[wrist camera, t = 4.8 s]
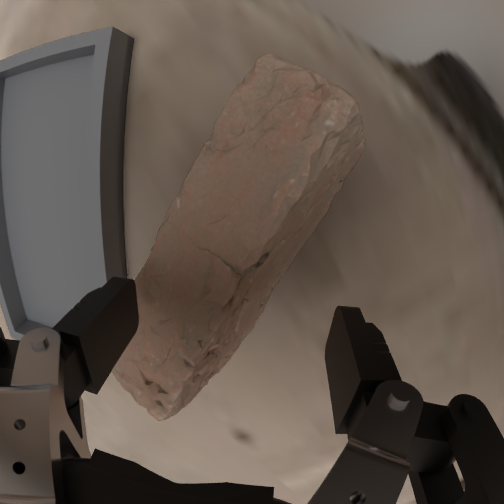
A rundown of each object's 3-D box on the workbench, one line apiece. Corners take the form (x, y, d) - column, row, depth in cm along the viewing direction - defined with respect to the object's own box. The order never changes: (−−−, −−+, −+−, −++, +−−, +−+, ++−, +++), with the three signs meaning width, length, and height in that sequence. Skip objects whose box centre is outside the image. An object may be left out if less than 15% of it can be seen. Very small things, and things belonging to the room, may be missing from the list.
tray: (134, 38, 15) (112, 26, 12) (136, 351, 24) (123, 375, 21) (6, 70, 15) (-18, 68, 13) (27, 321, 24) (11, 337, 22)
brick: (258, 40, 9) (381, 95, 8) (305, 111, 17) (374, 151, 16) (94, 367, 14) (159, 431, 13) (178, 323, 21) (229, 364, 20)
